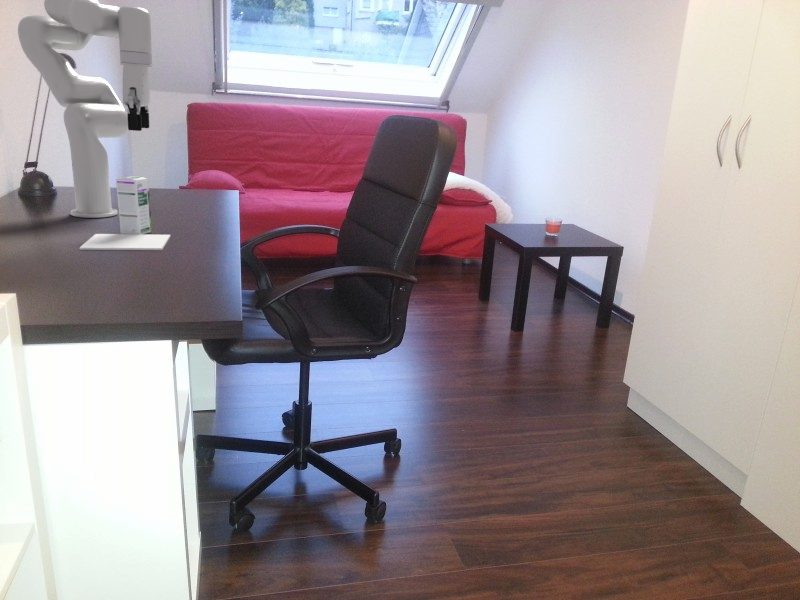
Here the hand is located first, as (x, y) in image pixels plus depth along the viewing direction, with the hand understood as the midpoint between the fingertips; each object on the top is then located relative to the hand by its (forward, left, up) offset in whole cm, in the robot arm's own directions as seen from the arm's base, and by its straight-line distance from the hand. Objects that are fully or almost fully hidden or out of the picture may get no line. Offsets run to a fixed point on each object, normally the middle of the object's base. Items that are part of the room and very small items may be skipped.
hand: (139, 129), depth 170 cm
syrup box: (+8, -1, -26) cm, 28 cm away
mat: (+20, -1, -26) cm, 33 cm away
